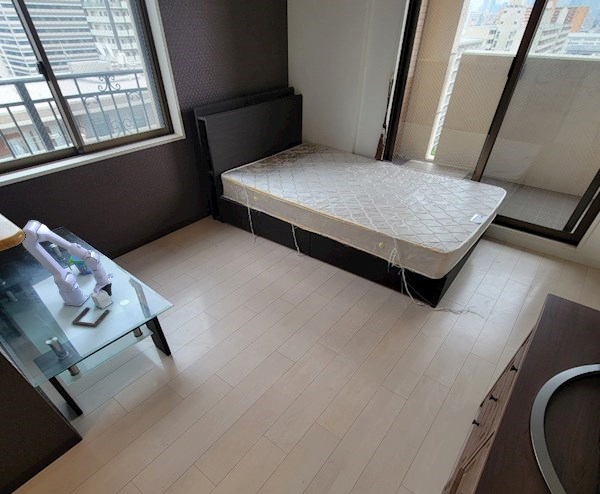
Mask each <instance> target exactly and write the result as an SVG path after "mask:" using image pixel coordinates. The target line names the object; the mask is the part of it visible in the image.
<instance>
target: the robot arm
mask: <svg viewBox="0 0 600 494" xmlns="http://www.w3.org/2000/svg"><path fill="white" fill-rule="evenodd" d="M22 230H23V231H24V232H25V234H26V238H25V240H24V241H23V242H22V241H21V243H22V246H23V247H24V249H25V250H26V251H28V253H29V254H31V255H32V256H33V257H34V258H35V259H36V261H38V262H39V263H40V265H42V266H43V267H44V269H46V270H47V272H49V273H50V274H51V276H53V282H54V284H55V285H56V286H57V289H58V293H59V295H60V297H61V299H62V300H63V302H64V303H63V305H69V306H74V307H75V306H76V307H81V306H82V305H83V304H84V303H85V302H86V301H87V300H88V299H89V298H90V295H84V293H83V291H82V289H81V287H80V286H79V284H78V282H77V279H78V278H77V277H78V276H77V275H76V274H75V273H73V272H72V271H71V270H70V269H67V268H63V267H62V266H61V265H60V263H58V262H57V260H55V259H54V257H52V255H51V254H50V253H48V251H47V250H46V249H45V248H44V247H43V246H42V245H41V244H40V243H42V242H50V243H52V244H54V245H56V246H58V247H60V248H63V249H64V250H66V251H67V253H68V254H69V255H71V256H72V255H73V256H75V257H76V258H78V259H80V260H82V261H84V262H85V263H84V264H85V265H86V266H88V267H89V268H90V270H91V272H90V273H91V274H92V276H93V279H94V280H95V285H94V287H93V289H92V292H94V293H98V292H99V290H100V289H102V290H104V291H106V292H107V294H108V295H109V297H112V295H113V294H112V285H113V283H112V281H111V279H112V278H114V273H111V272H109V273H107V272H106V271H105V268H104V266H103V265H102V262H101V260H100V259H101V255H100V254H99V253H98V251H95V250H90V249H86V248H85V247H84V246H82V245H81V244H79V243H78V244H77V243H76V242H74V243H72V242H70V241H68V240H66V239H65V238H63V237H61V236H59V235H58V234H56V233H55V232H53V231H51V230H50V229H49V228H48V227H47V226H46V225H45V224H43V223H41V222H40V221H38V220H32V219H31V220H28V221H27V223H26V225H24V227H23V228H22Z"/></svg>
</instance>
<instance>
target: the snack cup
mask: <svg viewBox="0 0 600 494" xmlns="http://www.w3.org/2000/svg"><path fill="white" fill-rule="evenodd" d="M71 263H72V264H73V265H74V266H75V267H76V269H77V270H78V271H79V273H80V274H83V275H88V274H91V273H92V272H91V270H90V268H89V267H88V266H86V265H85V264H84V263H85V262H84V261H82V260H80V259H78V258H76V257H75V256H73V255H71V256H70V258H69V260H68V261H67V266H68V268H69V271H70V272H72V271H73V269H72V267H71V265H70V264H71Z"/></svg>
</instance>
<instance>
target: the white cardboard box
mask: <svg viewBox="0 0 600 494" xmlns="http://www.w3.org/2000/svg"><path fill="white" fill-rule="evenodd" d="M89 297H90V298H91V300H92V301H93V303H94V305H95V306H96V307H98V308H100V309H102V310H103V309H105V308H106V307H108V306H109V305H111V304H112V303H113V302H112V300H111V298H110V297H111V296H109V295H108V294H107V292H106V291H104V290H102V289H100V290H99V292H98V293H94V291H92V292H91V293H89Z"/></svg>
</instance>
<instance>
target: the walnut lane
mask: <svg viewBox="0 0 600 494" xmlns="http://www.w3.org/2000/svg"><path fill="white" fill-rule="evenodd" d="M89 310H90V308H89V307H88V306H87V307H84V309H83V310H82V311H81V312H80V313H79V314H78V315H77V316H76V317H75V318H74V319H73V320H72V321H71V324H72V325H77V326H85V327H93V328H96V327H97V326H98V325H99V324H100V323H101V321H103V319H104V318H105V317H106V316H107V315H108V314H109V313H110V310H109V309H105V310H104V311H103V313H102V314H100V316H99V317H98V318H97V319H96V321H94V323H93V322H85V321H80V320H81V319H82V318H83V316H85V315H86V313H87V312H88V311H89Z"/></svg>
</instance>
